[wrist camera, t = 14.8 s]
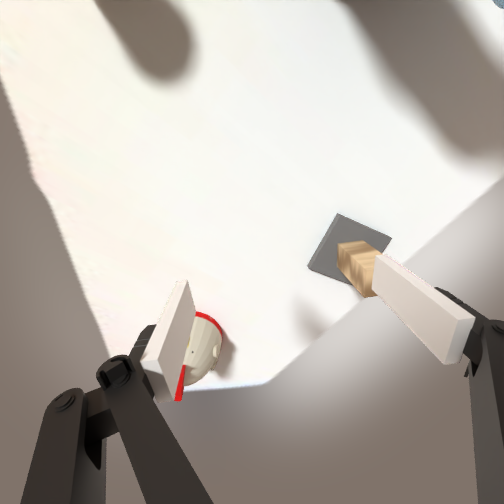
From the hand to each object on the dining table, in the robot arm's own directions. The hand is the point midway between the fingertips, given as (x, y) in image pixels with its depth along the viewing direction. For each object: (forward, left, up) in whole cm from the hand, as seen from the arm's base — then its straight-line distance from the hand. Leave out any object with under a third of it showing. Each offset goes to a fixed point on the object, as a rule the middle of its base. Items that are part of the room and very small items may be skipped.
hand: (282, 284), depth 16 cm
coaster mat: (+2, +21, -28) cm, 36 cm away
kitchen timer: (+34, -1, -29) cm, 44 cm away
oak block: (+2, +21, -27) cm, 34 cm away
